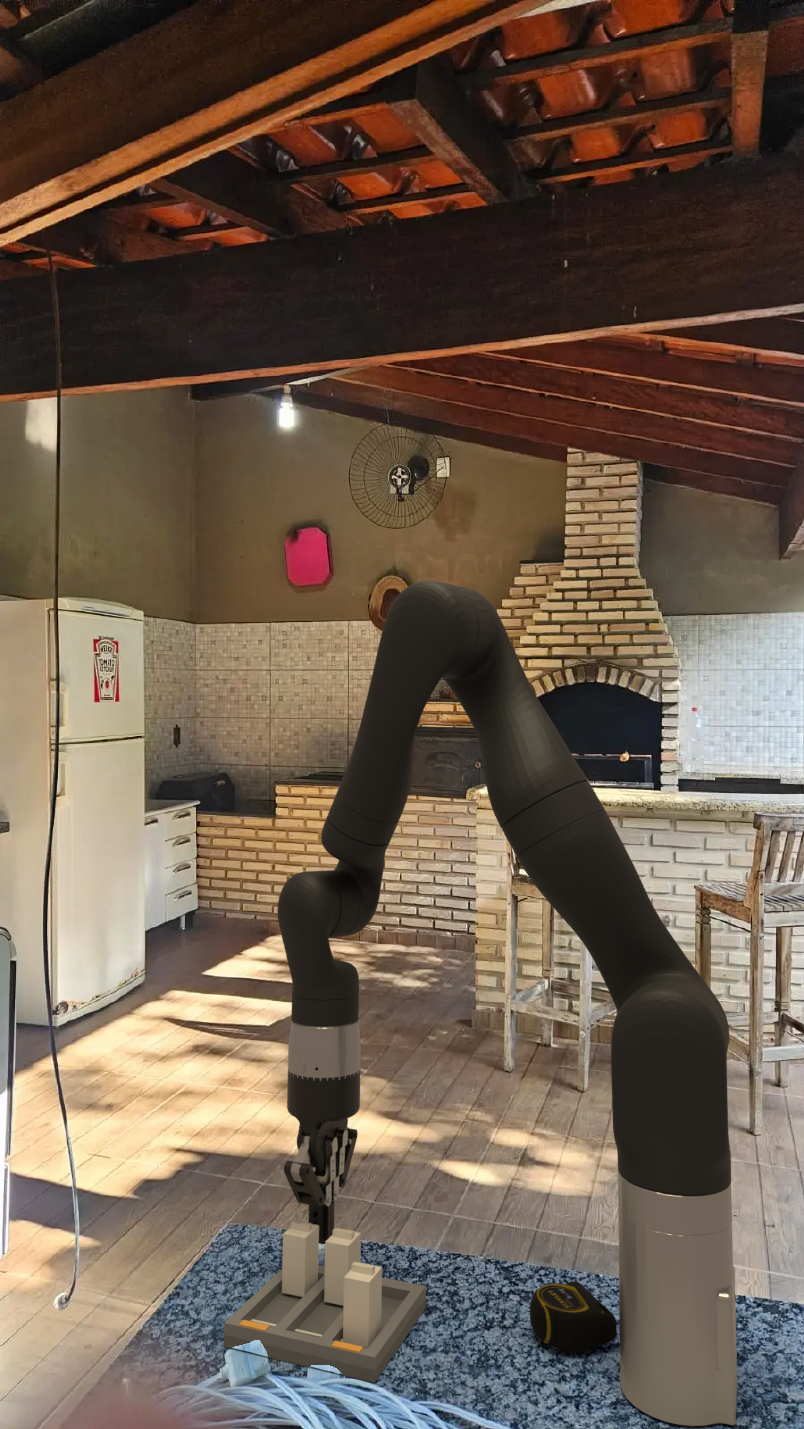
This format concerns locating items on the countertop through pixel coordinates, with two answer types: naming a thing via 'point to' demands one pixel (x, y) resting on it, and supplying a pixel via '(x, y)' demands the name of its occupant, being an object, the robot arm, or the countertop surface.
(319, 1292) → the switch board
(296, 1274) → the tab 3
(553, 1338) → the tape measure
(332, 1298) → the beige upright block
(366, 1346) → the beige tall block
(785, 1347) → the countertop surface
